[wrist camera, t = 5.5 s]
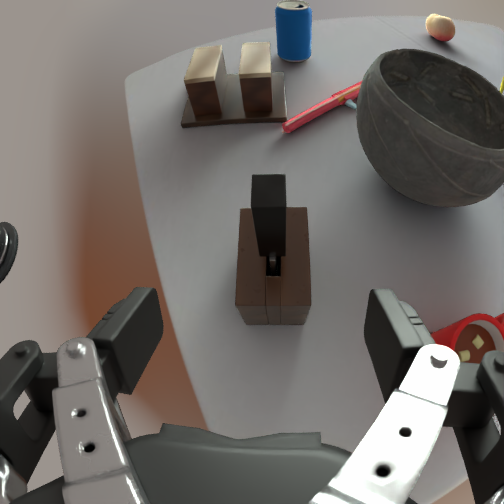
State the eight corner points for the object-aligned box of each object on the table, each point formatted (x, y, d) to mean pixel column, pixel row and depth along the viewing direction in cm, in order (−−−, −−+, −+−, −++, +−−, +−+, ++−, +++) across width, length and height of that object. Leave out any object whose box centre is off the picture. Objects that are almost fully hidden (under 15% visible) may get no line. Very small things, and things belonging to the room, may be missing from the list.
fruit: (440, 33, 57) (446, 12, 50) (456, 47, 54) (463, 25, 47) (418, 29, 58) (423, 6, 50) (433, 43, 54) (440, 19, 47)
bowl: (491, 174, 37) (534, 109, 23) (447, 270, 32) (518, 204, 18) (388, 103, 44) (406, 28, 30) (315, 171, 39) (325, 76, 25)
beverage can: (309, 65, 50) (310, 11, 39) (275, 62, 51) (271, 9, 40) (312, 50, 52) (312, 0, 41) (280, 48, 53) (277, -2, 42)
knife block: (245, 324, 32) (234, 305, 24) (248, 245, 35) (240, 207, 28) (304, 324, 31) (311, 305, 24) (302, 245, 35) (307, 206, 28)
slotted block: (181, 128, 45) (167, 88, 37) (195, 81, 50) (185, 45, 43) (286, 122, 43) (286, 78, 36) (283, 75, 48) (282, 37, 41)
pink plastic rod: (390, 91, 46) (372, 73, 47) (395, 85, 44) (377, 66, 45) (295, 147, 42) (274, 123, 42) (298, 139, 40) (276, 115, 40)
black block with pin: (265, 297, 33) (250, 212, 17) (266, 270, 34) (252, 170, 19) (284, 297, 33) (286, 211, 17) (284, 270, 34) (285, 169, 18)
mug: (499, 347, 27) (539, 334, 20) (433, 413, 25) (472, 417, 18) (469, 297, 30) (506, 273, 23) (400, 357, 29) (433, 348, 21)
